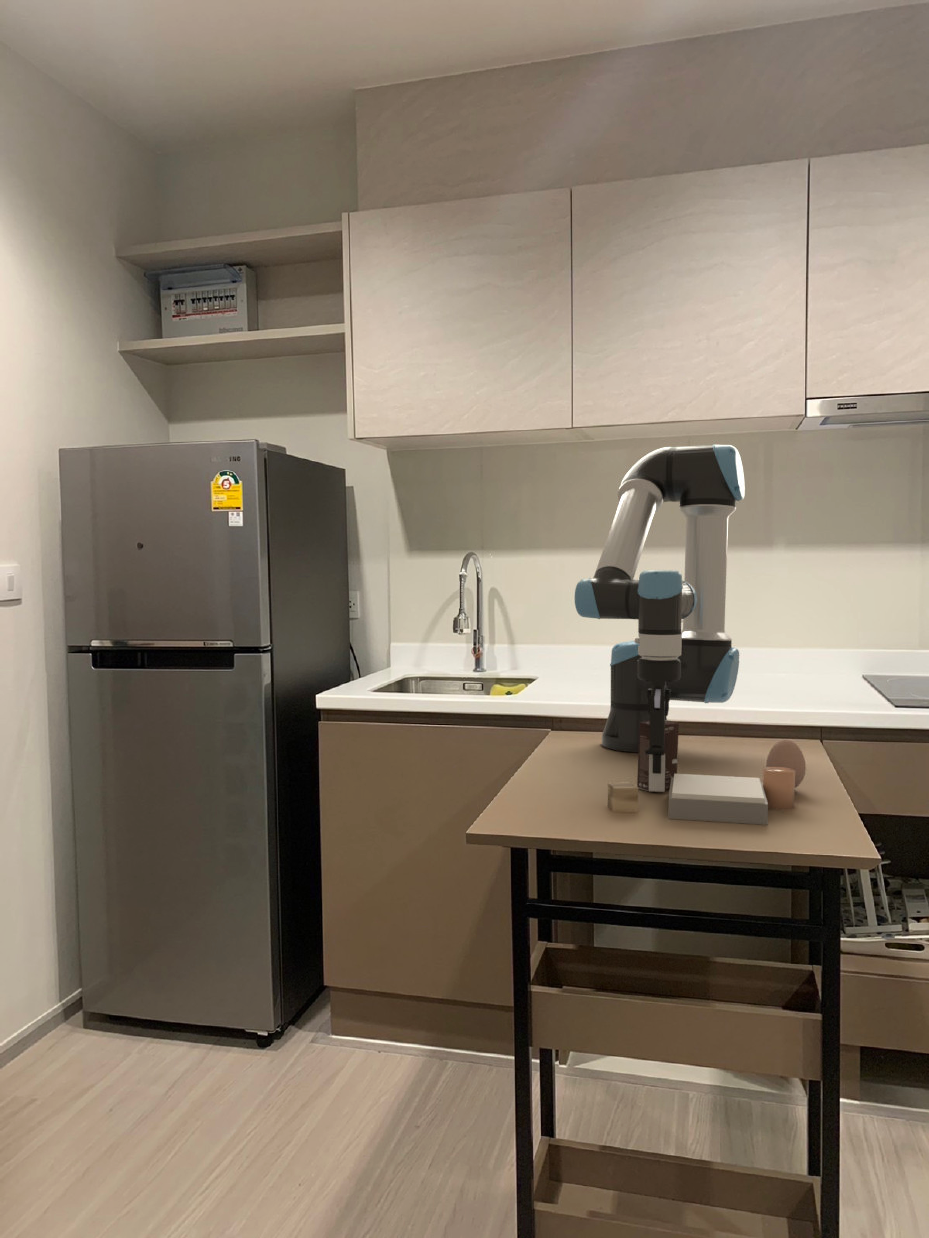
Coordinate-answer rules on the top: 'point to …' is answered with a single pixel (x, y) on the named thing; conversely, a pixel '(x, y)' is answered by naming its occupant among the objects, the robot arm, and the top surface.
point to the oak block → (623, 797)
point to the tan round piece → (779, 787)
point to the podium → (718, 799)
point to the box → (670, 753)
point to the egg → (787, 758)
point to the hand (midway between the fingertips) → (657, 785)
